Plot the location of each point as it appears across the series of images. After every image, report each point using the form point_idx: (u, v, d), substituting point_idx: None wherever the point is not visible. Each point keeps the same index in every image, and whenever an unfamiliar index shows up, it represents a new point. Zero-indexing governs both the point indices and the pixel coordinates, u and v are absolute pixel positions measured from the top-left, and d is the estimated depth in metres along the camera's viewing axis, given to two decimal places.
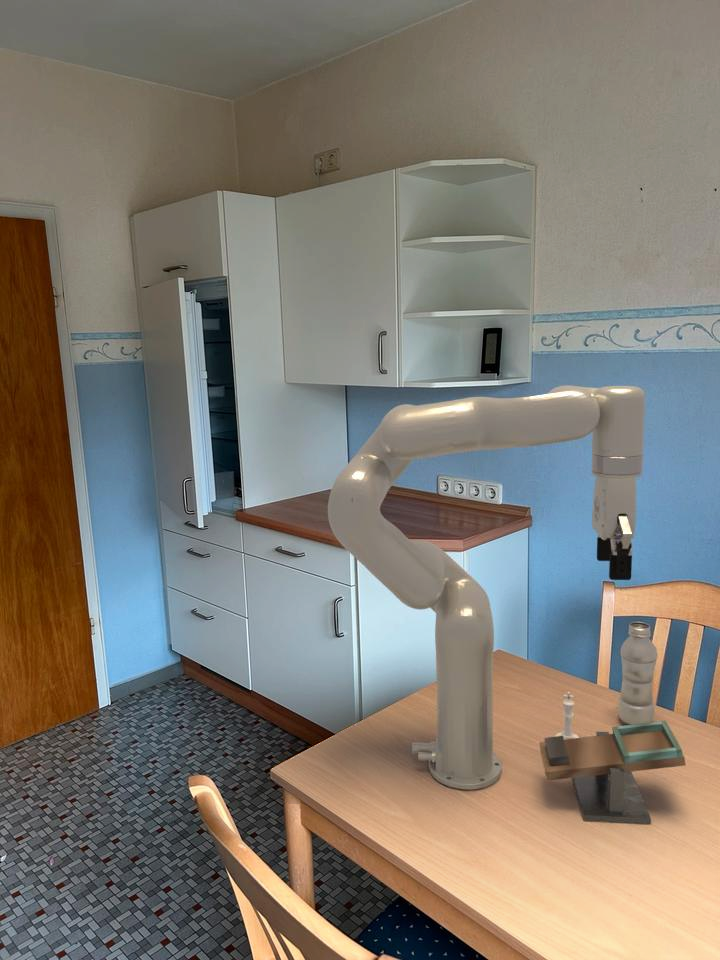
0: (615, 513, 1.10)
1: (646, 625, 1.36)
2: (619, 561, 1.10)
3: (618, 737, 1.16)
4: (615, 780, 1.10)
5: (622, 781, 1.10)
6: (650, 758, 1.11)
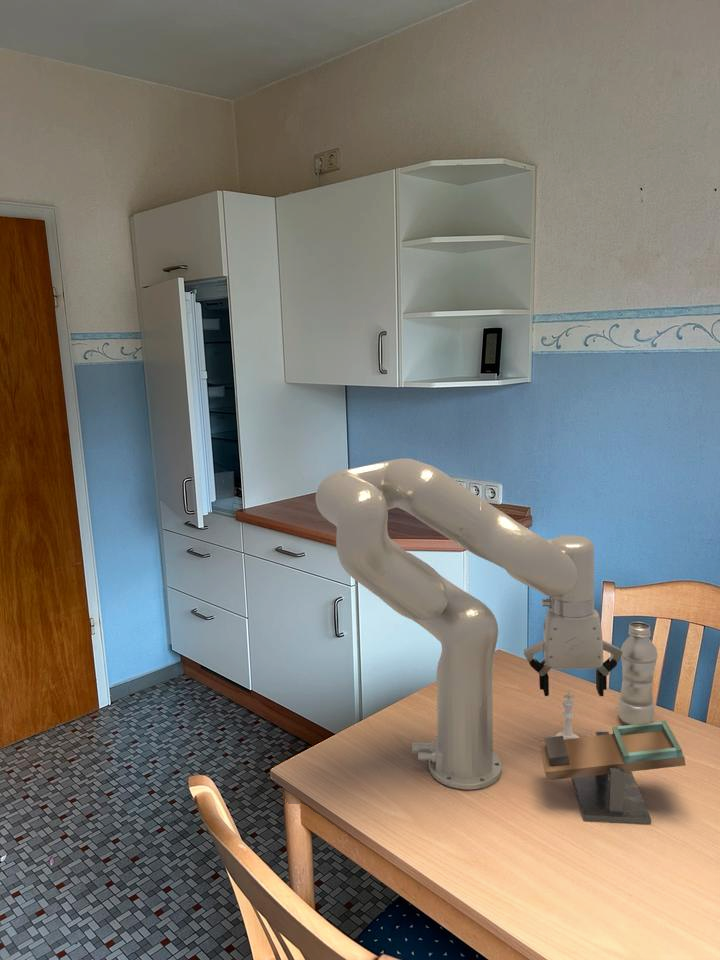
0: None
1: (646, 625, 1.36)
2: None
3: (618, 737, 1.16)
4: (615, 780, 1.10)
5: (622, 781, 1.10)
6: (650, 758, 1.11)
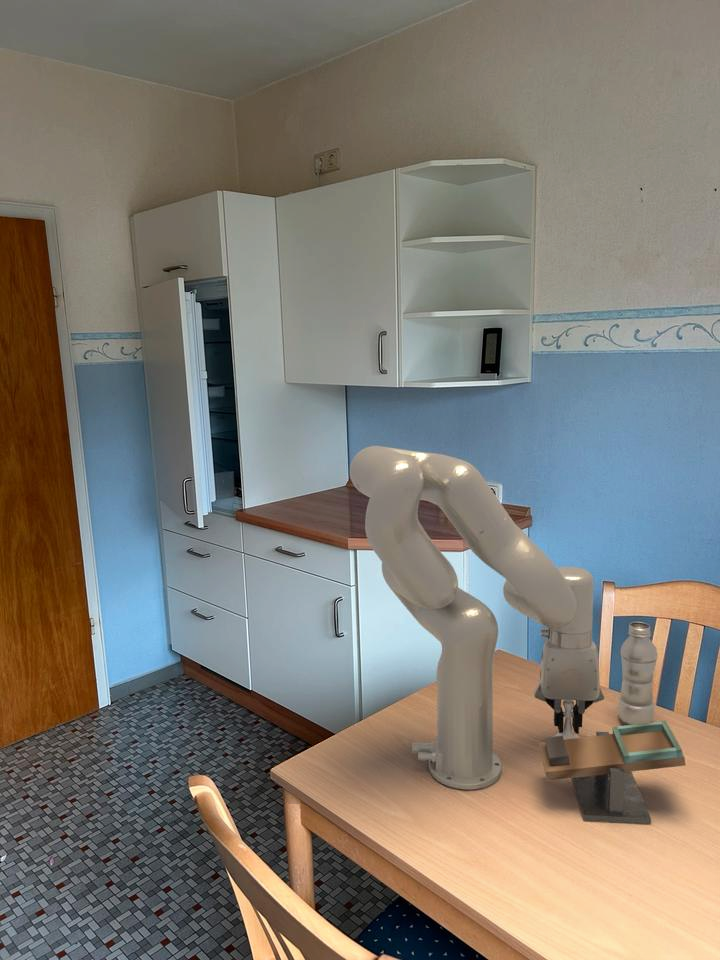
0: None
1: (646, 625, 1.36)
2: None
3: (618, 737, 1.16)
4: (615, 780, 1.10)
5: (622, 781, 1.10)
6: (650, 758, 1.11)
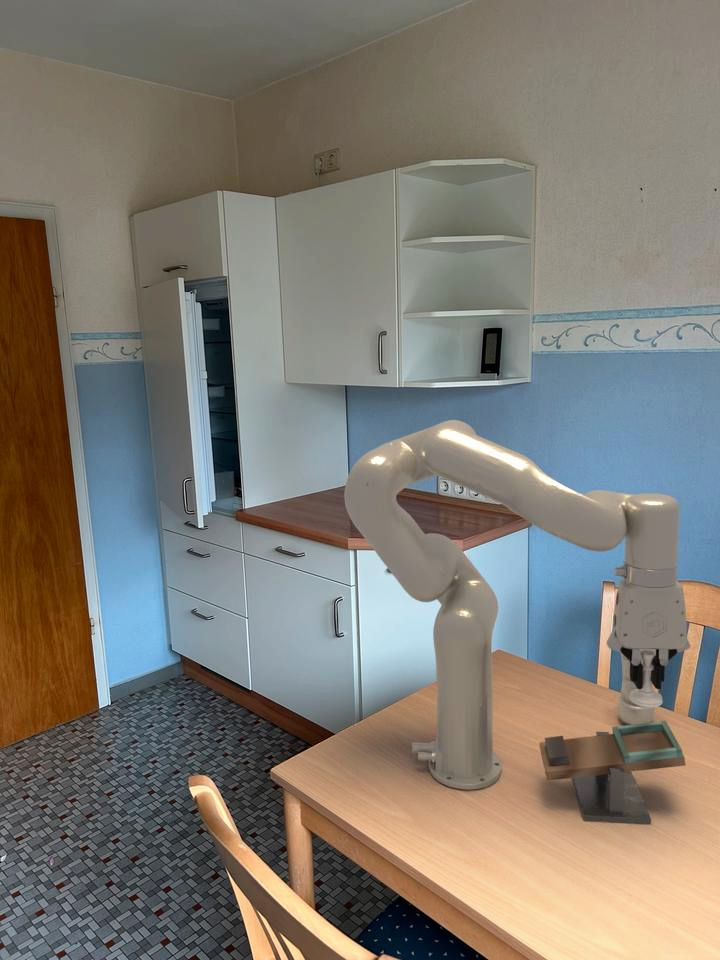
0: None
1: None
2: None
3: (618, 737, 1.16)
4: (615, 780, 1.10)
5: (622, 781, 1.10)
6: (650, 758, 1.11)
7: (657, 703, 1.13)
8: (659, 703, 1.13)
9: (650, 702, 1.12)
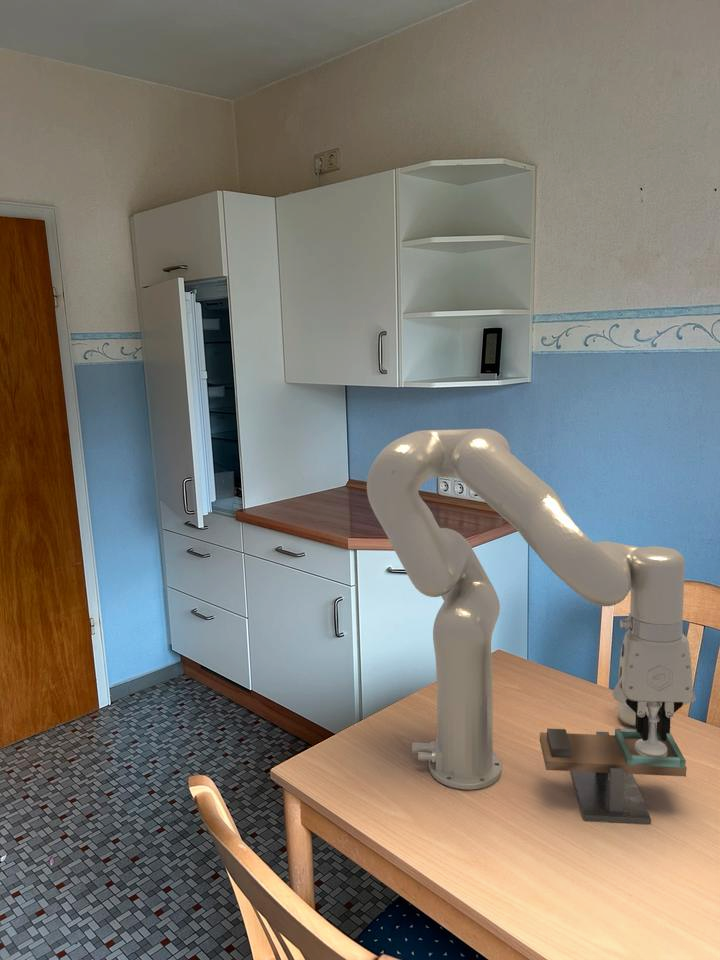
0: None
1: None
2: None
3: (621, 739, 1.16)
4: (615, 780, 1.10)
5: (622, 781, 1.10)
6: (653, 764, 1.11)
7: (662, 755, 1.13)
8: (664, 755, 1.13)
9: (655, 754, 1.13)
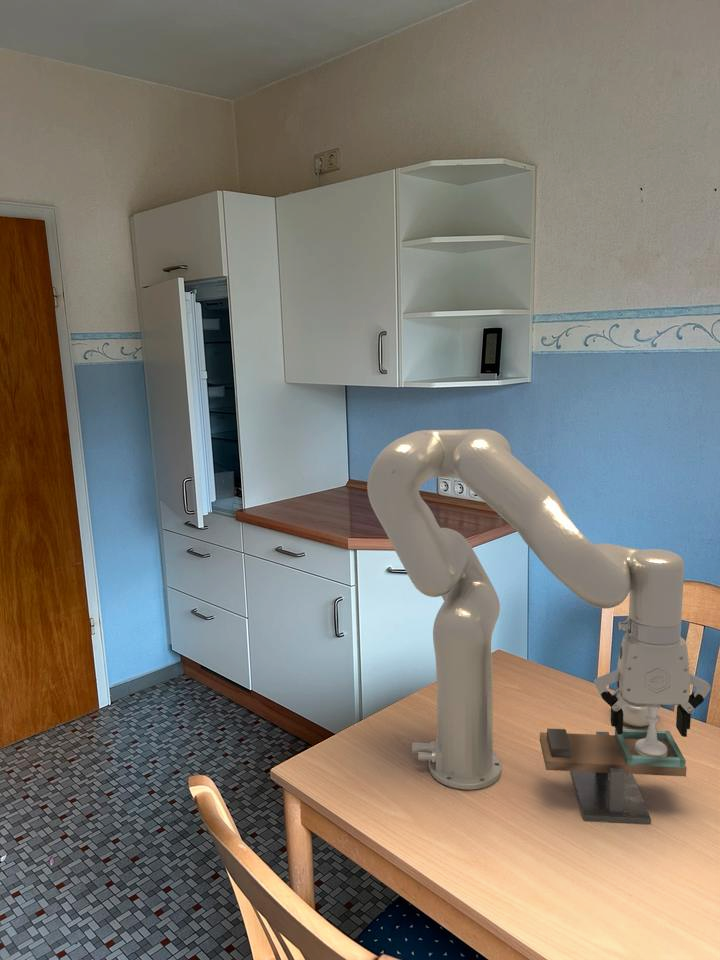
0: None
1: None
2: None
3: (621, 739, 1.16)
4: (615, 780, 1.10)
5: (622, 781, 1.10)
6: (653, 764, 1.11)
7: (662, 755, 1.13)
8: (664, 755, 1.13)
9: (655, 754, 1.13)
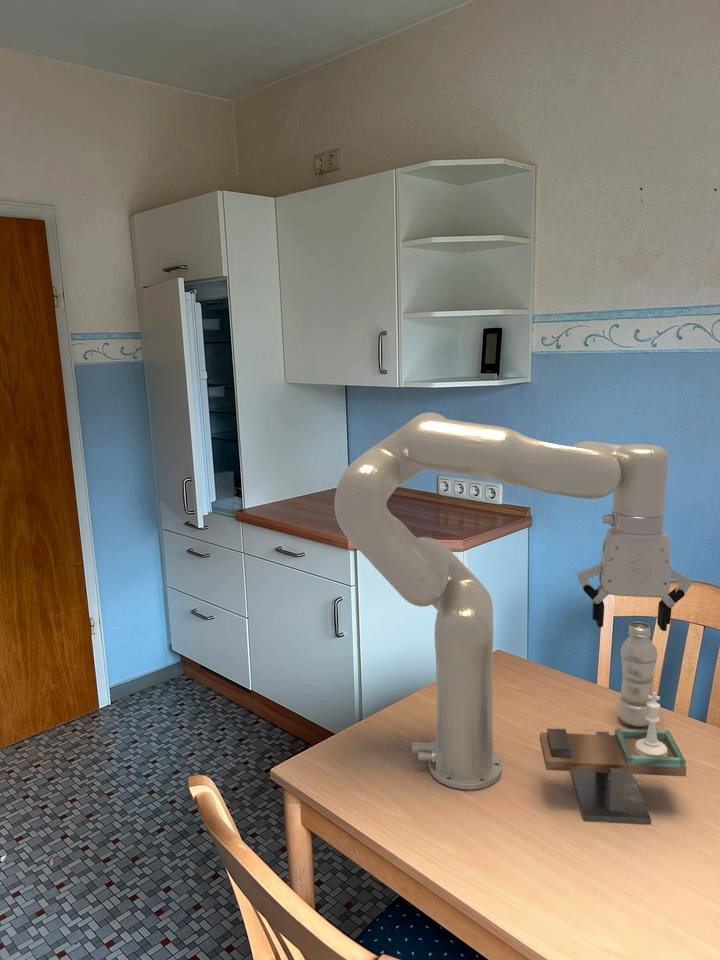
0: None
1: (646, 625, 1.36)
2: None
3: (621, 739, 1.16)
4: (615, 780, 1.10)
5: (622, 781, 1.10)
6: (653, 764, 1.11)
7: (662, 755, 1.13)
8: (664, 755, 1.13)
9: (655, 754, 1.13)
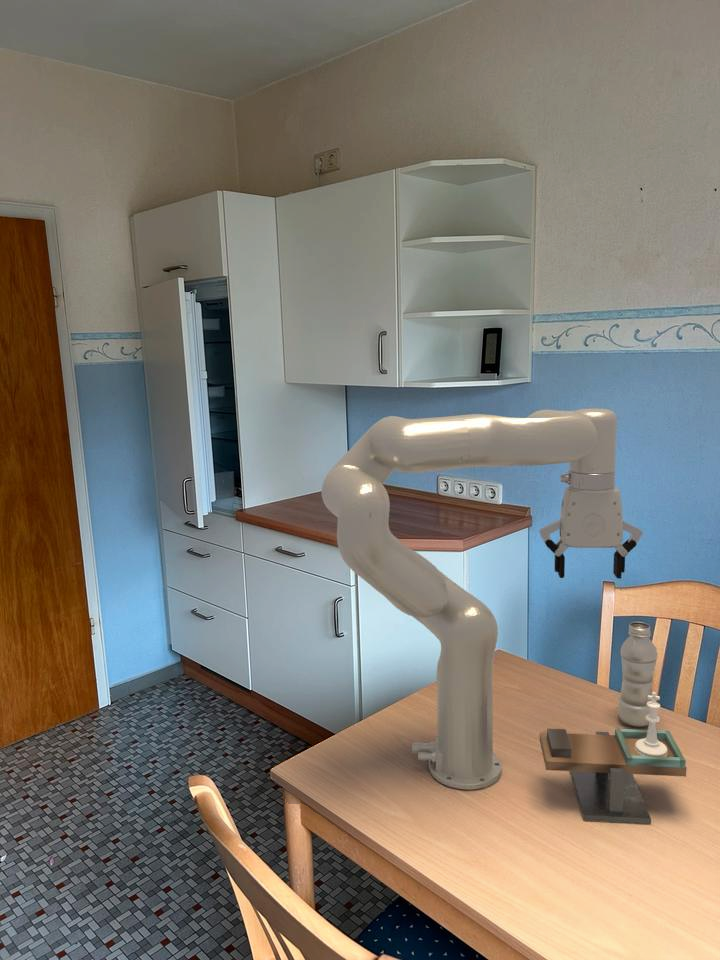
0: None
1: (646, 625, 1.36)
2: None
3: (621, 739, 1.16)
4: (615, 780, 1.10)
5: (622, 781, 1.10)
6: (653, 764, 1.11)
7: (662, 755, 1.13)
8: (664, 755, 1.13)
9: (655, 754, 1.13)
